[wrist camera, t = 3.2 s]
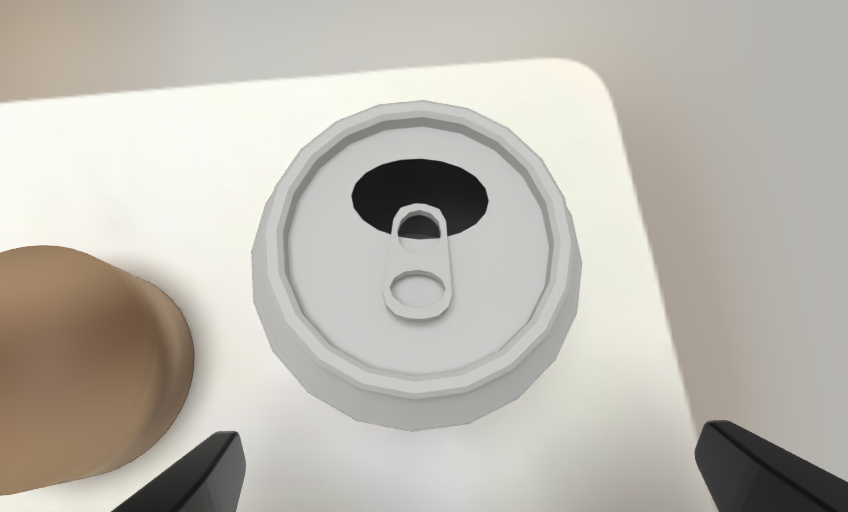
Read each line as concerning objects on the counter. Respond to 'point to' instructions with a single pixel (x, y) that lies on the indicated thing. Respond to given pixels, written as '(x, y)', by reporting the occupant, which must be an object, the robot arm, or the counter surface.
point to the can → (416, 266)
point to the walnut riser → (83, 366)
